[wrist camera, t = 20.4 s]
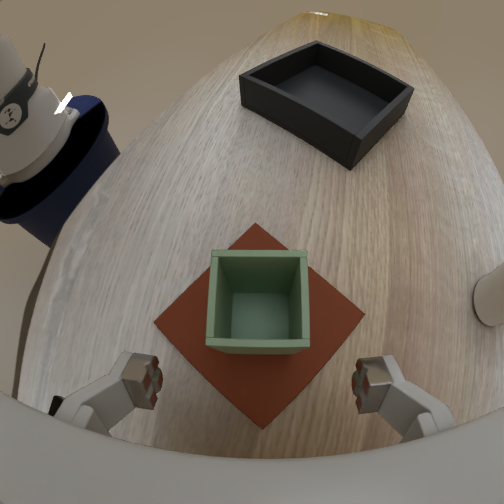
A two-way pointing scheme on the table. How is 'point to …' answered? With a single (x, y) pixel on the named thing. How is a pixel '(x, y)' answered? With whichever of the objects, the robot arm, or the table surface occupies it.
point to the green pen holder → (258, 302)
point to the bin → (327, 99)
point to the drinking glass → (490, 297)
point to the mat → (259, 365)
